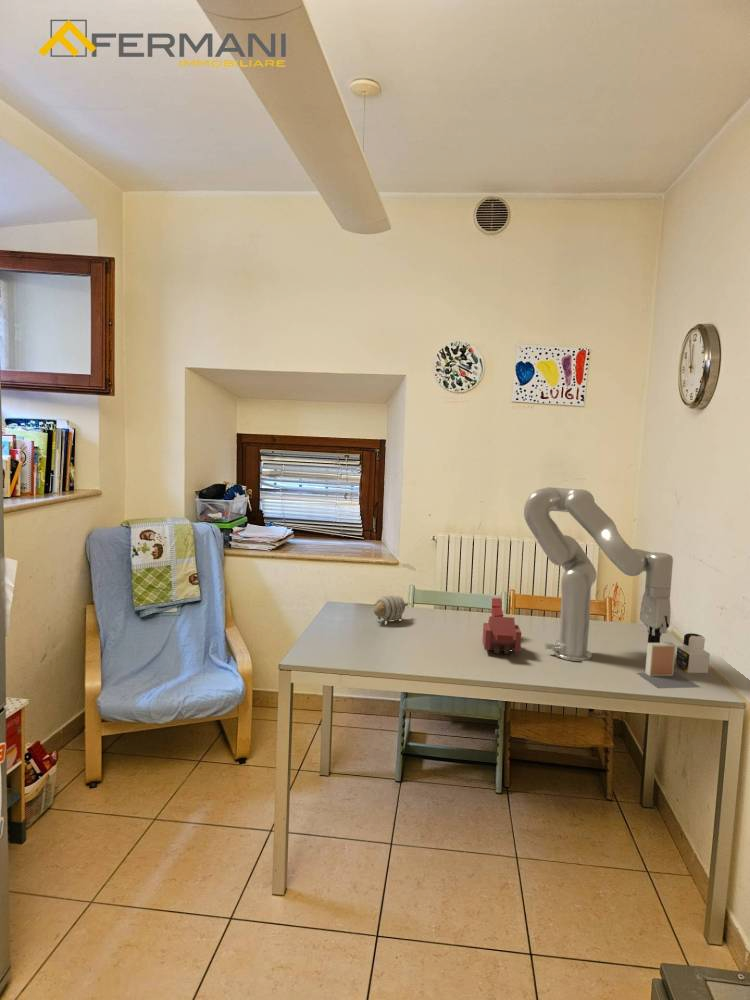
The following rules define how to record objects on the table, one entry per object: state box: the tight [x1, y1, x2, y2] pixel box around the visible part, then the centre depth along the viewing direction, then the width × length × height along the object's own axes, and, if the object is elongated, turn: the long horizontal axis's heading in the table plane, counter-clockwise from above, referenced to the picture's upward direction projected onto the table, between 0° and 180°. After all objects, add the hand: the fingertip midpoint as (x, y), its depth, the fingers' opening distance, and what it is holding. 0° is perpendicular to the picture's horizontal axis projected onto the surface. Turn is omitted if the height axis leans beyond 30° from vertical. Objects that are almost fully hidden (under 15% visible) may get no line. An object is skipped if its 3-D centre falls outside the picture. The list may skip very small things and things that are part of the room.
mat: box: [636, 671, 701, 689], centre depth 195 cm, size 14×12×1 cm
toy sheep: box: [373, 593, 409, 622], centre depth 247 cm, size 11×17×11 cm, turn 135°
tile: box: [644, 641, 677, 676], centre depth 199 cm, size 8×3×10 cm, turn 98°
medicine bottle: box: [675, 632, 711, 674], centre depth 205 cm, size 7×7×12 cm
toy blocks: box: [481, 597, 522, 655], centre depth 222 cm, size 12×20×25 cm
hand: (653, 646), depth 203 cm, fingers closed
